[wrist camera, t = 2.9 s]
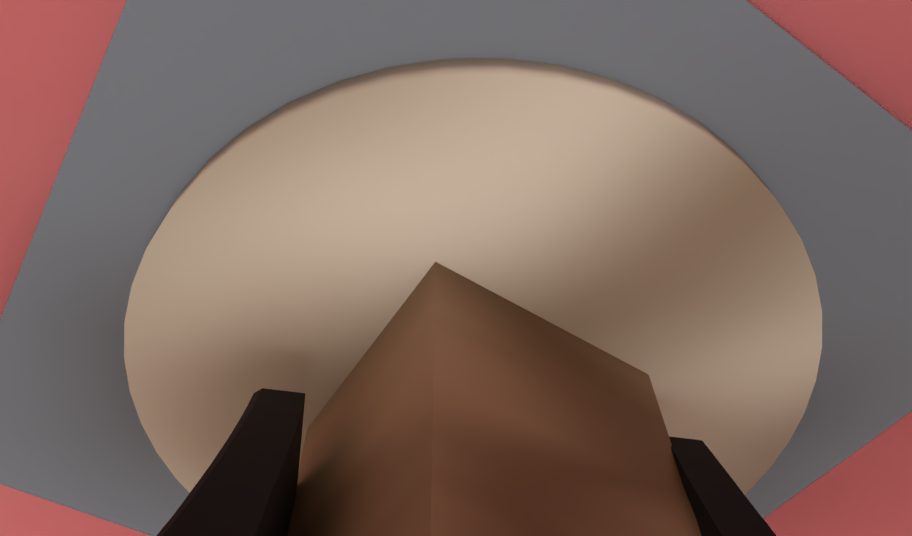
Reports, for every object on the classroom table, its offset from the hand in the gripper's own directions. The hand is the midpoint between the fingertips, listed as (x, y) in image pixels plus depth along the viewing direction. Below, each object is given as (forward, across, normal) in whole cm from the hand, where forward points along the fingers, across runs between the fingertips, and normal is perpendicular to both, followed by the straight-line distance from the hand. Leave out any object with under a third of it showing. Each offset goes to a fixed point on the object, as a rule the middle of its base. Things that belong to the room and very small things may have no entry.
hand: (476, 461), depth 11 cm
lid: (+2, 0, 0) cm, 2 cm away
